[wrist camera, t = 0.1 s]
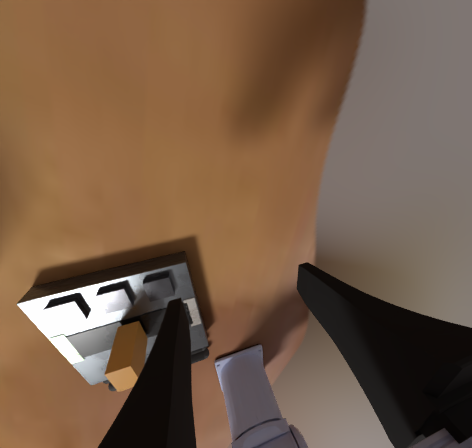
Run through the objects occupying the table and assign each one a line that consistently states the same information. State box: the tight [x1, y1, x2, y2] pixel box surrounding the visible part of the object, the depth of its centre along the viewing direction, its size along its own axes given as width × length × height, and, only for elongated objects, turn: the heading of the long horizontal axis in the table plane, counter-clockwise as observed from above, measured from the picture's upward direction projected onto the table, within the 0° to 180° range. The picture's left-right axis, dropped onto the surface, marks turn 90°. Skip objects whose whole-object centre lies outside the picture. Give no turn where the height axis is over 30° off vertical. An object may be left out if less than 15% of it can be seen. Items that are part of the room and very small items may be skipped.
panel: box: [17, 251, 209, 385], centre depth 21 cm, size 14×14×3 cm
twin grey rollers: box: [103, 346, 209, 391], centre depth 26 cm, size 4×13×2 cm, turn 95°
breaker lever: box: [105, 321, 148, 392], centre depth 19 cm, size 3×2×4 cm, turn 5°
